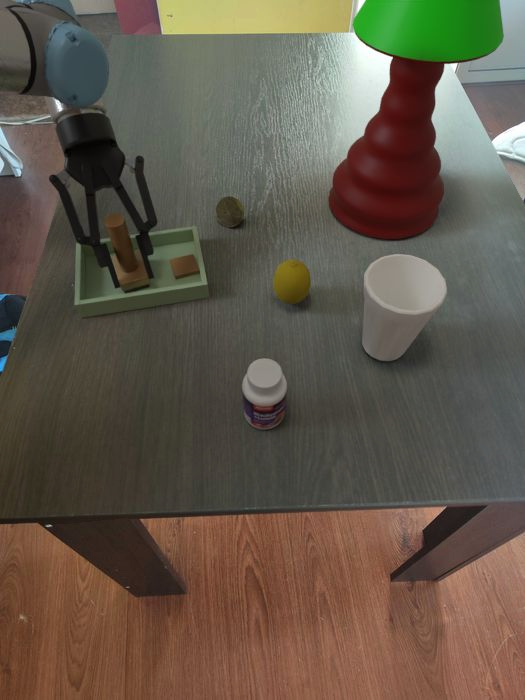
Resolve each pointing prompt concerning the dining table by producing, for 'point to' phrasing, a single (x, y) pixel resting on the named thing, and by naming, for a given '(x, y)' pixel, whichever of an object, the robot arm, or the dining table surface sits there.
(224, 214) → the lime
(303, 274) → the lemon
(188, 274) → the flat brown square tile
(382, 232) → the table lamp
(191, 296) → the tray
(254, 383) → the pill bottle
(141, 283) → the cylinder on block base
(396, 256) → the cup
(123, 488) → the dining table surface
